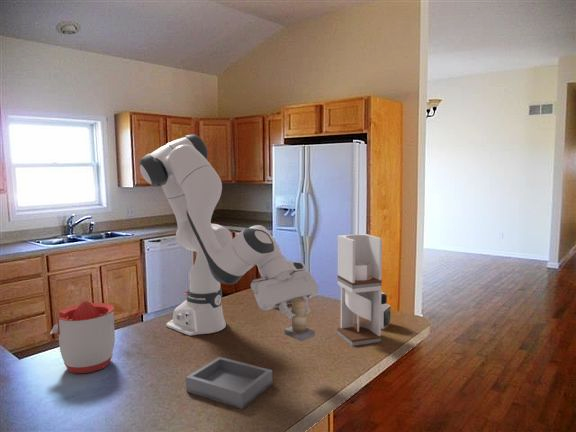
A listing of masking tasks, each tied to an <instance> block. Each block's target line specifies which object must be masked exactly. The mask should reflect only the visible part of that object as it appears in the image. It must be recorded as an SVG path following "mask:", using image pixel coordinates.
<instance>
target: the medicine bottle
mask: <svg viewBox="0 0 576 432" xmlns="http://www.w3.org/2000/svg"><path fill="white" fill-rule="evenodd" d="M387 297H388V296H387V294H386V293H385V292H382V291H381V330H385V329H386V328H387V327H388V326H389V325H390V324H391V304H387V303H388V300H387V299H388V298H387Z"/></svg>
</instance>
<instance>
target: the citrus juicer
mask: <svg viewBox="0 0 576 432" xmlns="http://www.w3.org/2000/svg"><path fill="white" fill-rule="evenodd" d="M114 310H115V307H114V305H112V304H110V303H104V302H91V303H90V301H87V300H84V301H82V303H80V304H77V305H72V306H69V307H66V308H64V309H61V310H60V311H59V312H58V313H59V314H58V315H59V317H57V323H56V324H54V325H53V326H52V329H51V331H50V333H49V334H50V335H53V334H57V335H58V344H59V345H58V346H59V350H60V356H61V359H62V360H63V364H64V365H65V366H64V367H66V369H67V370H68V371H69V372H70V373H73V374H88V373H92V372H96V371H99V370H102V369H104V368H105V367H107V366H108V365H109V364H110V362H111V360H112V357H113V352H114V348H115V339H116V335H115V318H114V317H115V316H114V314H115V313H114Z"/></svg>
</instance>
